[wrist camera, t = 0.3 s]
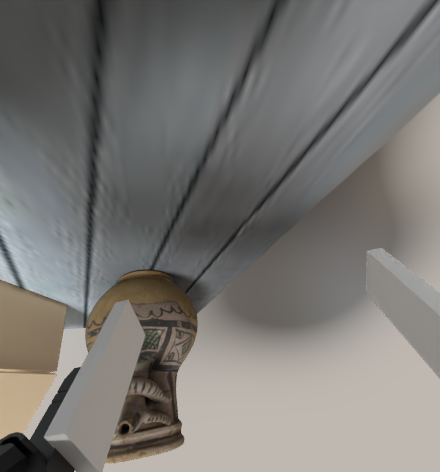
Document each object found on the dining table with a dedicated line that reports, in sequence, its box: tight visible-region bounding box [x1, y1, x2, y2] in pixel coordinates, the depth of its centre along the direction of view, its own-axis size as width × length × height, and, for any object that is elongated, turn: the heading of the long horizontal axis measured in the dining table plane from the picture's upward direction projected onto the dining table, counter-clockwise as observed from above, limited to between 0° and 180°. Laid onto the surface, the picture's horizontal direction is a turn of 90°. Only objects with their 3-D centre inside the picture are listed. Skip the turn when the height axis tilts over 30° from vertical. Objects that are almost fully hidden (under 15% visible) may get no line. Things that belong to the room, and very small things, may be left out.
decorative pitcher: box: [85, 270, 197, 463], centre depth 41 cm, size 22×18×25 cm
